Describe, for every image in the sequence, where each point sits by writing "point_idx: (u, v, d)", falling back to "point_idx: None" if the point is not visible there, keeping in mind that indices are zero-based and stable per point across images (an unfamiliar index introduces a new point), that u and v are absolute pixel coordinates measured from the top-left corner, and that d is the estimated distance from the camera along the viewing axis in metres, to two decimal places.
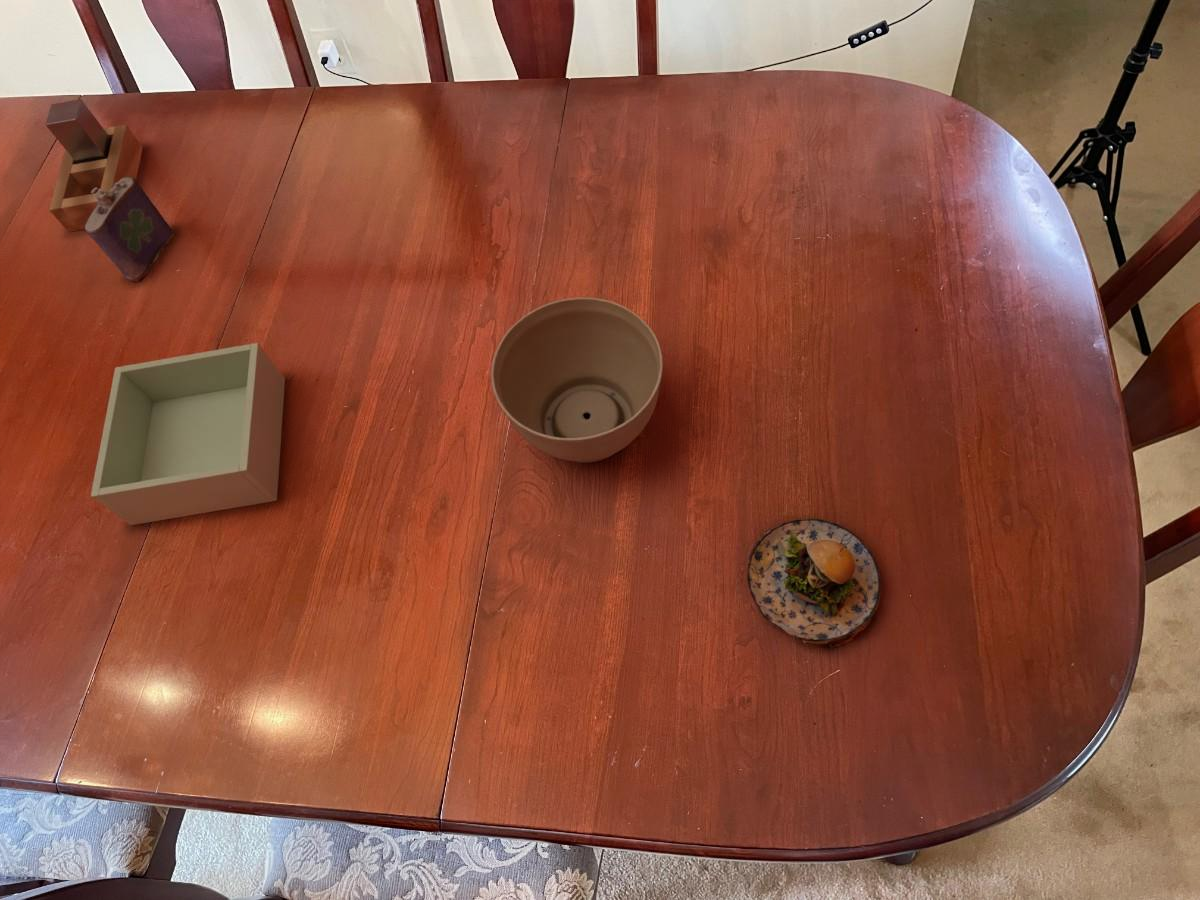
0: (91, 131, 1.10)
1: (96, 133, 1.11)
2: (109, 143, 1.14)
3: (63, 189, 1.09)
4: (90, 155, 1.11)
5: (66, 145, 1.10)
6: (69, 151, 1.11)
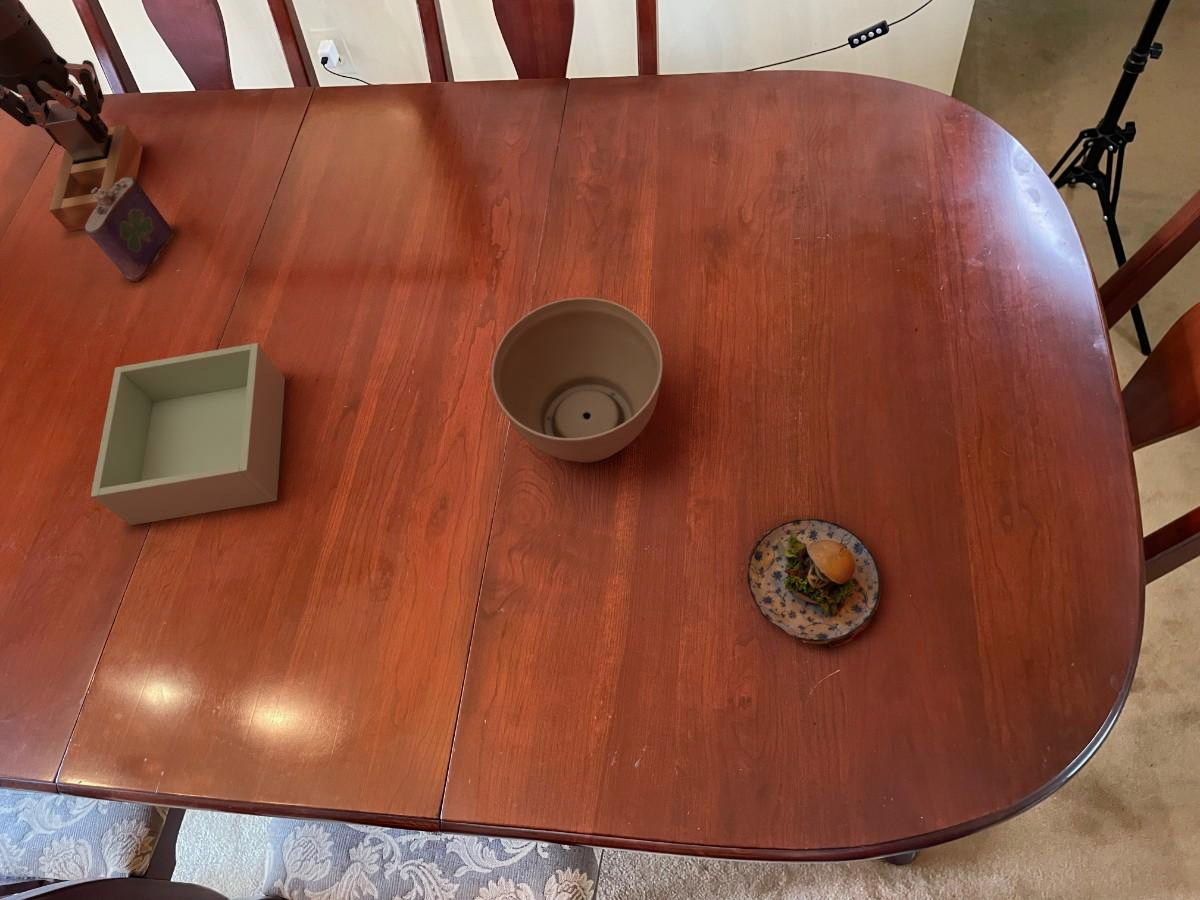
0: None
1: None
2: (109, 143, 1.14)
3: (63, 189, 1.09)
4: (90, 155, 1.11)
5: (66, 145, 1.10)
6: (69, 151, 1.11)
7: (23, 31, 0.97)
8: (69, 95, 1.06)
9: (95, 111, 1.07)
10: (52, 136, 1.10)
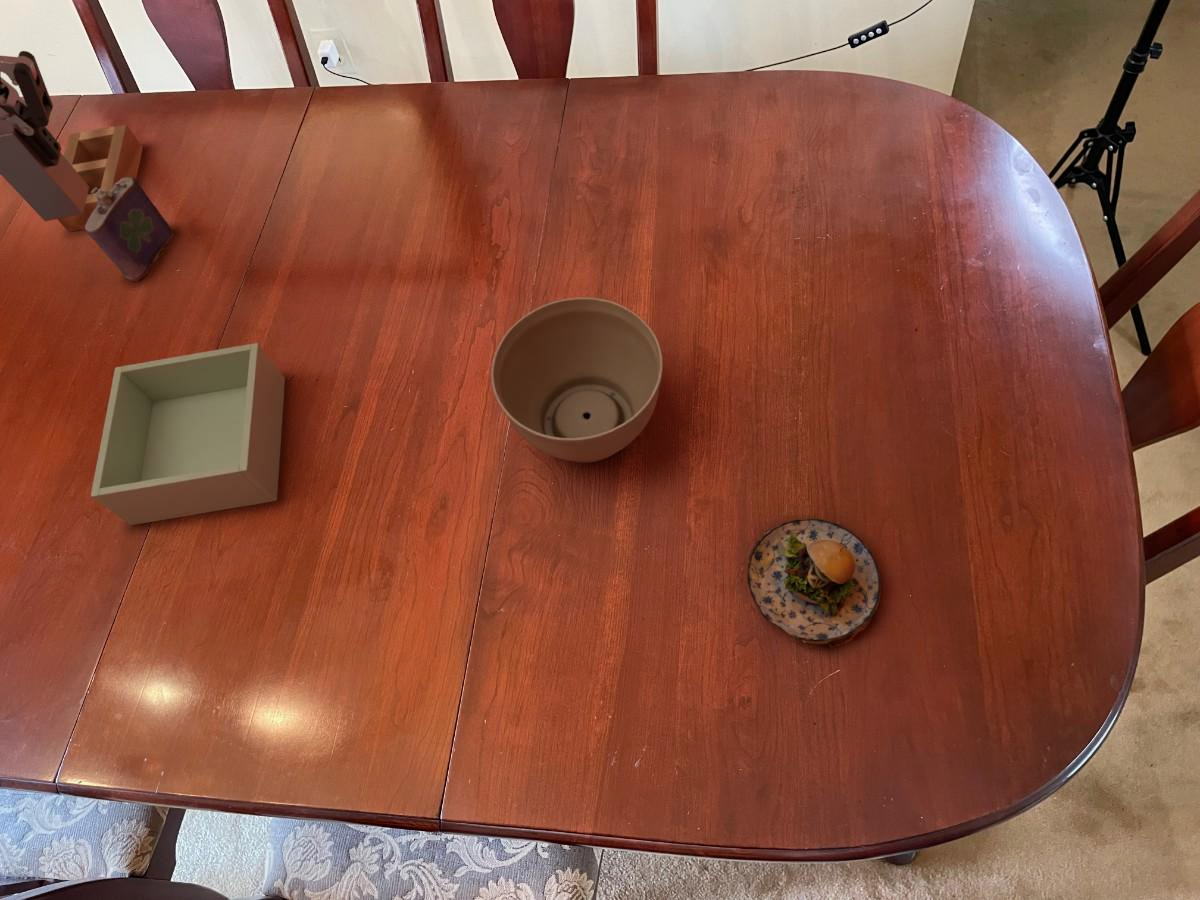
0: None
1: None
2: (63, 166, 0.84)
3: None
4: (36, 183, 0.81)
5: (2, 169, 0.80)
6: (7, 177, 0.81)
7: None
8: (2, 101, 0.76)
9: (40, 123, 0.77)
10: None
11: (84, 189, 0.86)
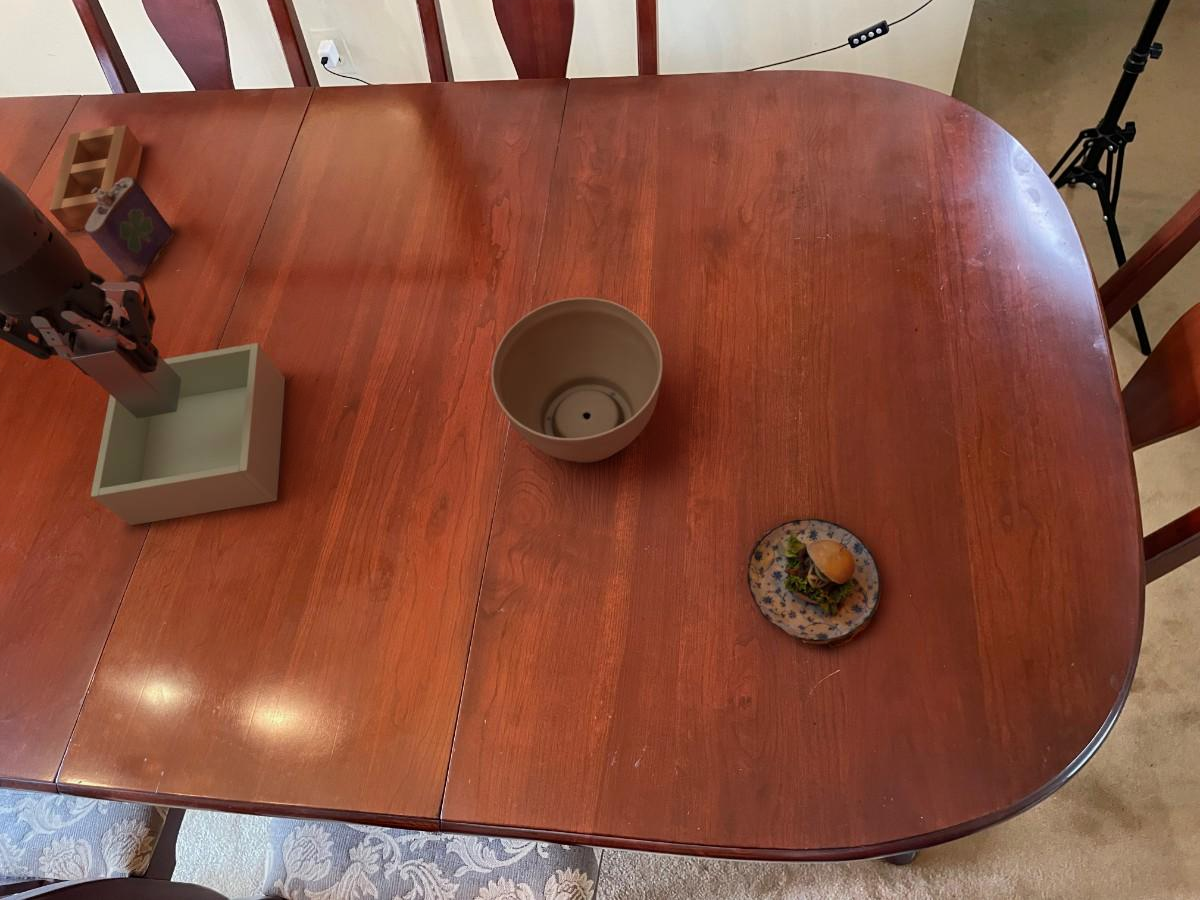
0: None
1: None
2: (159, 366, 0.80)
3: (63, 189, 1.09)
4: (133, 388, 0.78)
5: (100, 379, 0.77)
6: (104, 385, 0.77)
7: (42, 253, 0.64)
8: (106, 319, 0.73)
9: (143, 339, 0.74)
10: (80, 367, 0.77)
11: (177, 383, 0.83)
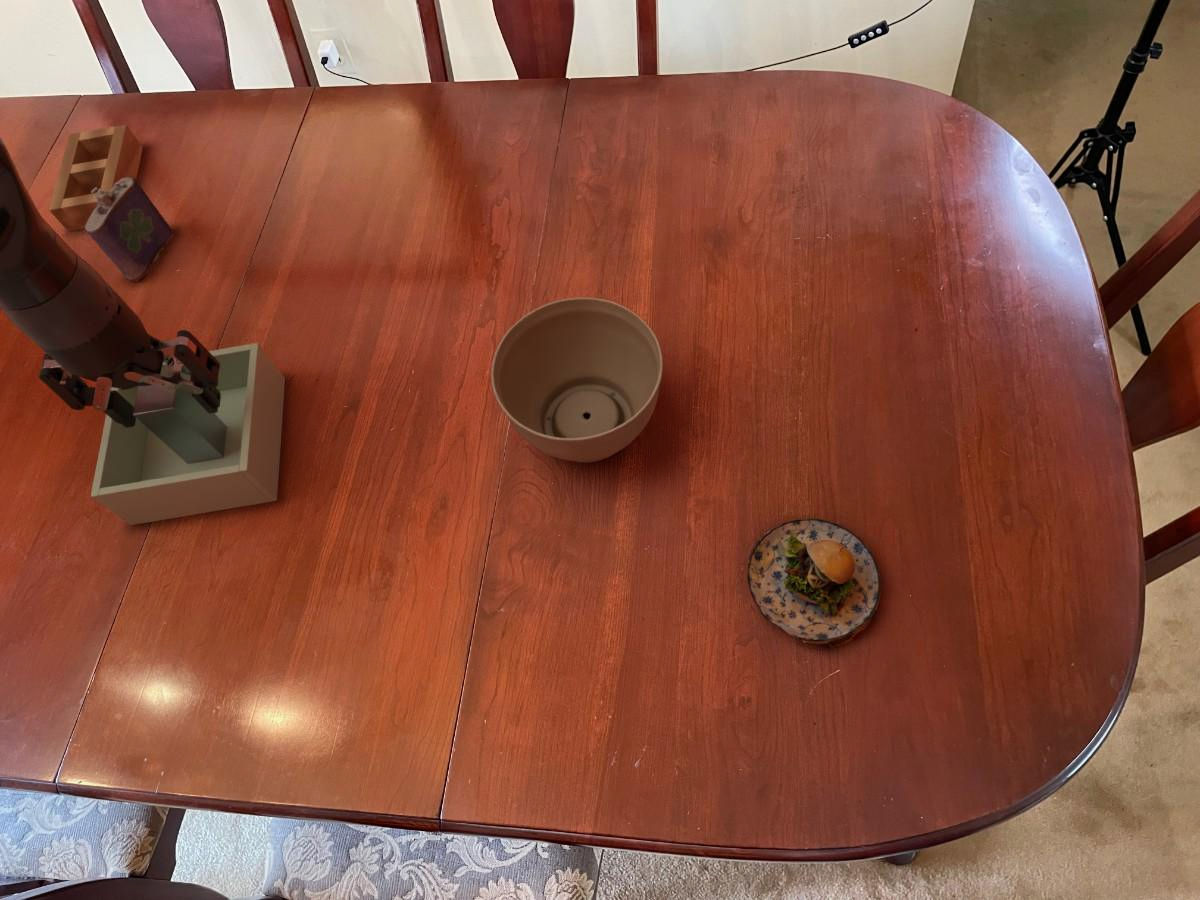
0: (189, 413, 0.84)
1: (195, 412, 0.86)
2: (208, 417, 0.88)
3: (63, 189, 1.09)
4: (186, 439, 0.86)
5: (157, 431, 0.84)
6: (160, 436, 0.85)
7: (112, 325, 0.71)
8: (170, 371, 0.80)
9: (210, 385, 0.80)
10: (110, 415, 0.83)
11: (224, 431, 0.91)
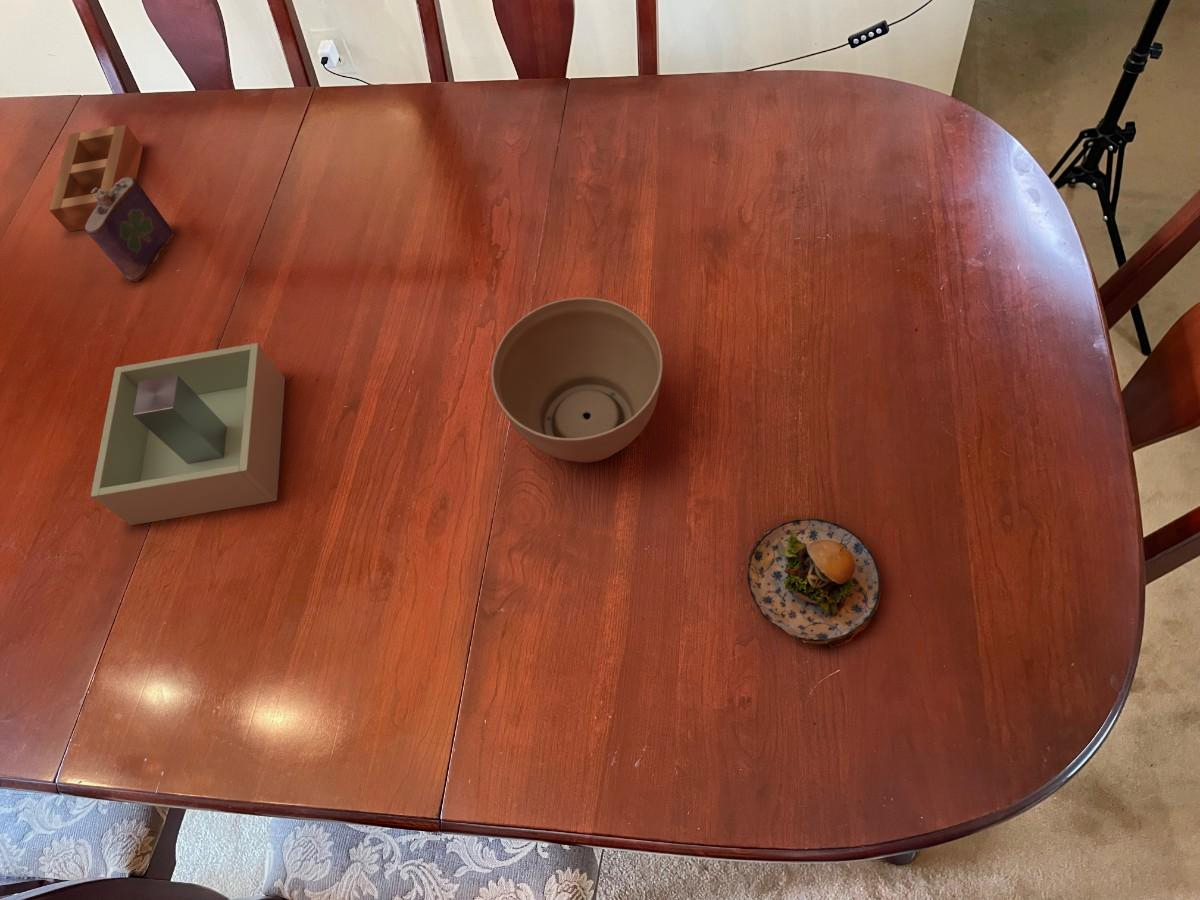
0: (189, 413, 0.84)
1: (195, 412, 0.86)
2: (208, 417, 0.88)
3: (63, 189, 1.09)
4: (186, 439, 0.86)
5: (157, 431, 0.84)
6: (160, 436, 0.85)
7: None
8: None
9: None
10: None
11: (224, 431, 0.91)
